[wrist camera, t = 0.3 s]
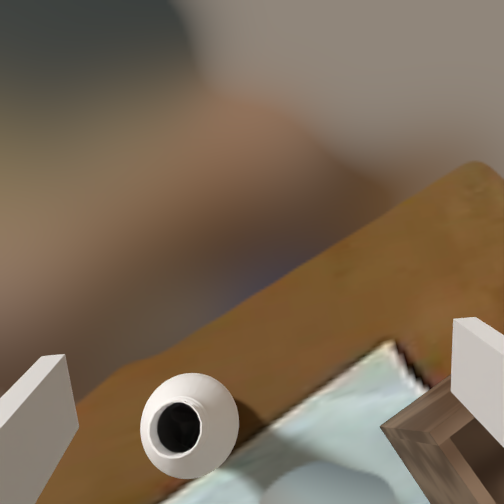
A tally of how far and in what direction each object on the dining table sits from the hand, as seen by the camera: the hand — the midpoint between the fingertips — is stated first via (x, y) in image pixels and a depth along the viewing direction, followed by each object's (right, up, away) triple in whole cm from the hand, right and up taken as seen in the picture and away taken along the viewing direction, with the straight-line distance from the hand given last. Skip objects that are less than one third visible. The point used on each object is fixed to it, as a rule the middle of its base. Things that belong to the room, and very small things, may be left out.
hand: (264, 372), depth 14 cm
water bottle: (-6, -15, +32) cm, 35 cm away
